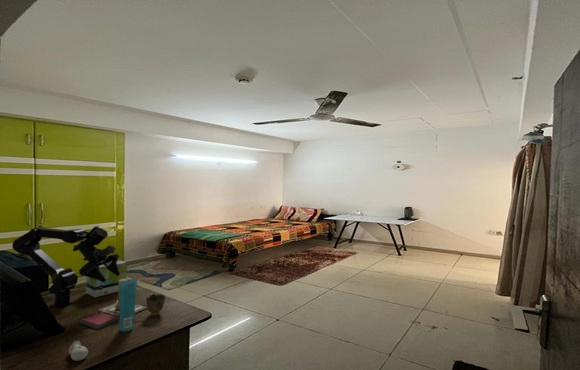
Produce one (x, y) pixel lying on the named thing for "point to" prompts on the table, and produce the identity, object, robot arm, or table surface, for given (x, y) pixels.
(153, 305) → the cup
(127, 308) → the tube
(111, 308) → the wooden picture frame
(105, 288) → the tea box
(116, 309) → the stamp
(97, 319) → the ink pad
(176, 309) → the table surface
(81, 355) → the pale two-lobed sculpture
